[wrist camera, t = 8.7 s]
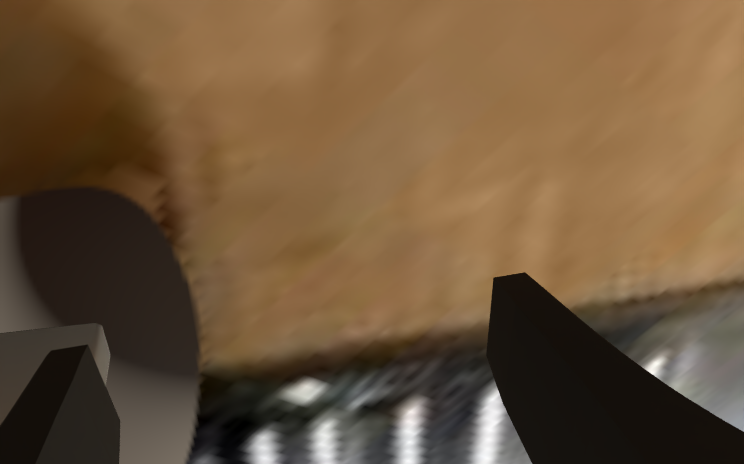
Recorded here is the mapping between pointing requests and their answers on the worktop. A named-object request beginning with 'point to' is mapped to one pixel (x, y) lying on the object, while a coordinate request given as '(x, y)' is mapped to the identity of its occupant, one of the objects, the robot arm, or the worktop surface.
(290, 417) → the worktop surface
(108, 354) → the lighter
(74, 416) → the robot arm
